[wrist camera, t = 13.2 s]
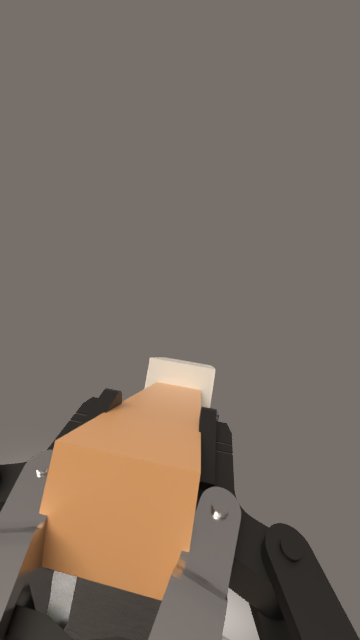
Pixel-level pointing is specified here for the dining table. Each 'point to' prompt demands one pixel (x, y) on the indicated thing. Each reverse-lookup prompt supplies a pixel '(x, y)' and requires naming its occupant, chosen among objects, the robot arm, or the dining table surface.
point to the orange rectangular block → (130, 484)
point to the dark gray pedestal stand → (110, 612)
